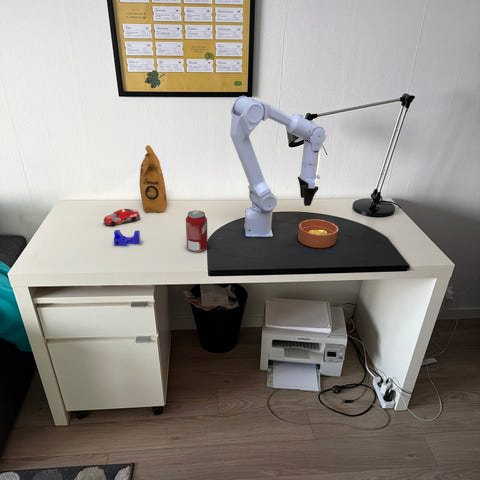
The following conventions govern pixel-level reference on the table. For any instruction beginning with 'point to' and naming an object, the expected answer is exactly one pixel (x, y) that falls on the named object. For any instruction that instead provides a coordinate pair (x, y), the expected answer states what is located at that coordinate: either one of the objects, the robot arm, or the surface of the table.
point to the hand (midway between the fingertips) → (305, 201)
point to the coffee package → (152, 183)
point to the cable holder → (126, 238)
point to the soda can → (196, 231)
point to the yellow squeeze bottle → (319, 232)
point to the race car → (122, 217)
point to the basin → (315, 239)
